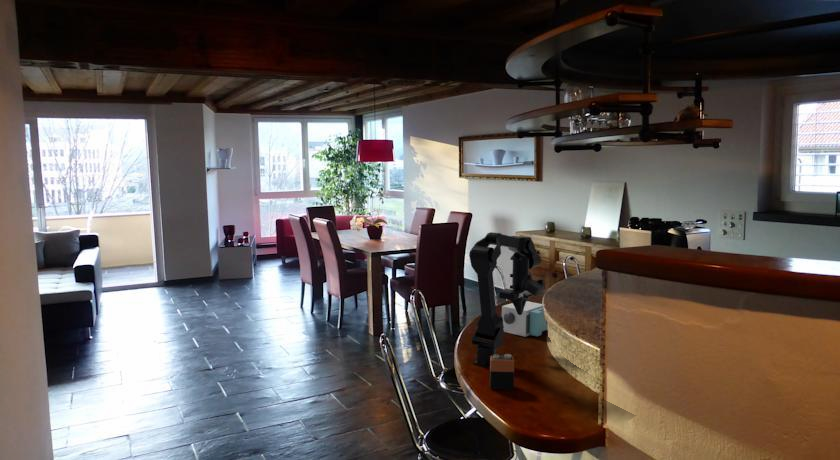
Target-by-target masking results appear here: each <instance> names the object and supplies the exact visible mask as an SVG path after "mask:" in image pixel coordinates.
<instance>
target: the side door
mask: <svg viewBox="0 0 840 460" xmlns="http://www.w3.org/2000/svg"><path fill="white" fill-rule="evenodd" d="M547 330H548V329H547V323H546V320H545V318H544V313H543V308H539V309H536V310H533V311H530V333H529V336H534V337H539V336H542V333H543V332H545V331H547Z"/></svg>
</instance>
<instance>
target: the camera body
mask: <svg viewBox="0 0 840 460" xmlns="http://www.w3.org/2000/svg"><path fill="white" fill-rule="evenodd" d="M539 308H543V303H539V302H532V301H528V300H527V301H526V304H525V307H524V309H523V312H522V315H518V313H517V311H516V309H515V307H514V305H513V303H512V302H511V303H509V304H508V303H507V304H505V305H502V306H501V316H502V318H503V326H504V328H503V329H504V333H508V334H511V335H512V334H513V335H516V336H521V337H525V338H526V337H528V336H530V335H529V333H530V311H533V310H536V309H539Z"/></svg>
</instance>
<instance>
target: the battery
mask: <svg viewBox="0 0 840 460" xmlns="http://www.w3.org/2000/svg"><path fill="white" fill-rule="evenodd" d="M514 382H515V358H514V356H512V354H510V353H506V354H504V355H499V354H497V353H496V354H495V355H494V356H490V368H489V387H490V390H491V391H493V390H494V391H513V390H514V388H515V383H514Z"/></svg>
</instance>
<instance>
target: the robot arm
mask: <svg viewBox="0 0 840 460" xmlns="http://www.w3.org/2000/svg"><path fill="white" fill-rule="evenodd" d="M490 245H492V247H490ZM493 246H495V247H493ZM502 247H505V248H508V250H509V251H511V252H512V253H513V254H512V255H511V256H510V258H509V260H511V261H512V273H509V277H510V278H511V279H512V282H511V283H512V284H511V285H509V288H503V289H501V290H499V291H498V298H499V299H503V300H508V301H511V303H513V305H514V307H515V309H516V311H517V313H518V315H522V312H523V309H524V307H525V304H526V301H528V300H529V299H530V298H532V297H533V296H535V297H537V296H539V295H542V293H543V290H545V289H546V281H545V280H544V279H543V278H541V279H538V280H537V279H536V280H535V279H533V275H532V274H530V270H532V269H534V268H537V267H539V266H540V265H541V263H542V257H541V255H540V254H539V253H538V252H537V248H536V247H535V244H534V241H533V240H532V237H530V236H522V235H507V234H503V233H501V232H487V233H486V235H485V237H483V238H481V239H480V240H478V241H477V242H476V243H474V245H473V246H472V248H471V249H470V251H469V261H470V265H471V268H472V269H473V271H474V272H475V273H476V276H477V286H478V296H479V306H480V308H479V309H480V317H479V319H478V321H477V322H476V329H475V330H474V333H473V335H472V337H471V344H472V345H473V346H477V347H476V360H474V361H473V364H474V365H478V366H481V367H485V368H488V369H490V356H494V355H495V354H497V349H498V348H500V347H502V344H503V340H504V333H505V332H504V329H503V328H504V326H503V318H502V315H498V314H497V308H496V307H497V306H496V297H495V285H494V270H495V269H496V267H497V264H498V259H499V258H500V256H501V254H502Z"/></svg>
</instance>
